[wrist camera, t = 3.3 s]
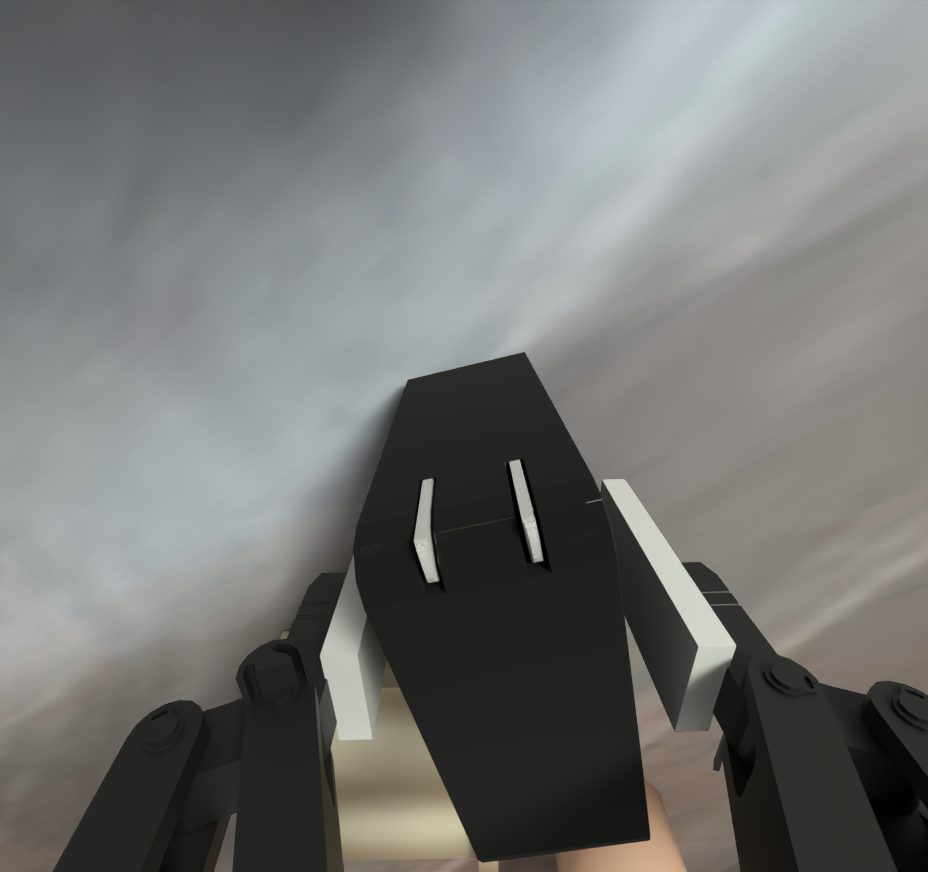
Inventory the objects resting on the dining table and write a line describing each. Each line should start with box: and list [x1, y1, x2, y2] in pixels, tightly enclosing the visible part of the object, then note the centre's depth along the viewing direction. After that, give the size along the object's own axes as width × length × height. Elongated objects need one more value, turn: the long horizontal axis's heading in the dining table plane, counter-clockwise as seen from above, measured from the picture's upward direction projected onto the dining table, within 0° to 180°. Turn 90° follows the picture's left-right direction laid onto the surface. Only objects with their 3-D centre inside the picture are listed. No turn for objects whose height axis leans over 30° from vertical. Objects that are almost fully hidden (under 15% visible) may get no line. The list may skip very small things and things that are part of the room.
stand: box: [280, 631, 498, 872], centre depth 22 cm, size 14×10×4 cm
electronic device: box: [353, 352, 651, 863], centre depth 13 cm, size 4×10×10 cm, turn 14°
